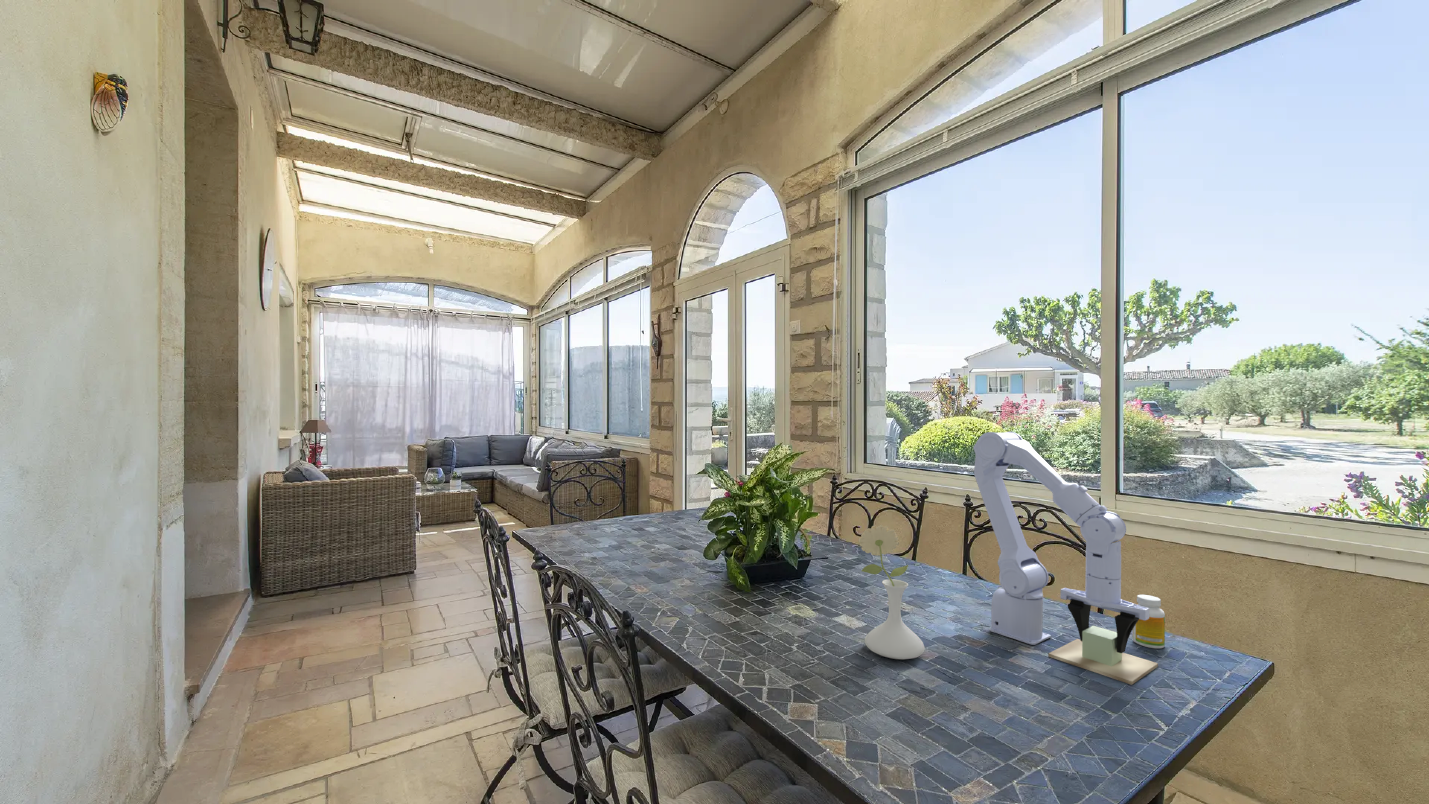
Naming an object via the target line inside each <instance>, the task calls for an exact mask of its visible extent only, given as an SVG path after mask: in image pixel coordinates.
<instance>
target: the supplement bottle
mask: <svg viewBox="0 0 1429 804" xmlns="http://www.w3.org/2000/svg"><path fill="white" fill-rule="evenodd" d="M1161 601H1162V600H1161V598H1159V597H1158V596H1153V595H1148V594H1137V596H1136V603H1138V604H1137V605H1139V606H1143V607H1146V608H1149V619H1147V620H1141V619H1139V620H1138V622H1137V623H1136V625H1135V626H1134V628H1133V630H1132V641H1133V642H1134V643H1135V644H1137V645H1139V646H1142V647H1144V648H1149V649H1163V648H1165V645H1166V643H1165V642H1166V639H1165V638H1166V637H1165V636H1166V632H1165V631H1166V614H1165V611H1164V610H1163V609H1162V608H1161V606H1162V604H1161V603H1162V602H1161Z"/></svg>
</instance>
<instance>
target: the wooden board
mask: <svg viewBox="0 0 1429 804" xmlns="http://www.w3.org/2000/svg"><path fill="white" fill-rule="evenodd" d="M1049 657H1050V659H1051V658H1052V659H1055V660H1058V661H1060V662H1062V663H1063V662H1064V663H1067V664H1069V665H1072V666H1076V667H1078V668H1081V669H1085V670H1087V671H1090V672H1094V673H1096V674H1099V675H1102V676H1105V677H1108V678H1111V679H1113V680H1117V681H1118V682H1122V683H1126V684H1129V685H1131V686H1133V685H1134V684H1135V683H1137V682H1139V680H1141V679H1143V678H1144V677H1145V676H1147V675H1148V674H1149V673H1151V672H1152V671H1154V670H1155V669H1156V668H1158V667H1159V663H1158V662H1155V661H1152V660H1149V659H1145V658H1142V657H1138V656H1136V655H1131V654H1128V653H1125V652H1123V653H1122V660H1121V661H1119V662H1118V663H1116V664H1115V665H1113V666H1109V665H1106V664H1103V663H1100V662H1097V661H1094V660H1090V659H1087V658H1084V657H1082V641H1081V640H1080V638H1076V639H1074V640H1072V641H1070V642H1069V643H1066V644H1064V645H1062V646H1061V647H1058V648H1056V649H1054V650H1052V651H1050V652H1049V653H1048V658H1049Z"/></svg>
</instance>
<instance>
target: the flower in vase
mask: <svg viewBox="0 0 1429 804" xmlns="http://www.w3.org/2000/svg"><path fill="white" fill-rule="evenodd" d="M860 535H861V536H860V537H859V538H858V543H859V546H860V547H861V548H860V549H861V550H862V552H865V554H871V555H872V556H878V557H880V565H881V566H880V565H878V564H875V563H871V564H868V565H866V566H865V567H863V568H862V569H861V572H863V573H868V574H871V575H878V574H879V573H881V572H882V571H884V573H885V575H886V576H887V578H888V579H883V580H882V581H881V583H882V585H883V586H884V588H885V591H886V593H887V597H888V598H887V600H888V614H887V615H888V616H887V618H886V620H885V621H884V622H882V623H881V624H879V625H878V626H876V627H875V628H873V629H871V630H870V631H869V632H868V633H866V636H865V638H864V644H865V645H866V647H867V648H868V649H869V650H870V651H871V652H873V653H875V654H877V655H879V656H881V657H885V658H889V659H894V660H909V659H916V658H918V657H920V656H922V654H924V652H925V650H926V648H925V645H924V641H922V639H921V638H920V637H919V636H918V635H917V634H916V633H915V632H914V631H913V630H912V629H911V628H909V627H908V626H907V625H906V624H905V623H904V621H903V619H902V615H901V614H902V613H901V607H902V600H903V599H902V597H903V595H904V592H905V591H906V589H907V588H908V586H909V583H908V582H906V581H904V580H900V579H895V578H894V577H900V576H902V575H904V573H905V572H907V569H908V567H909V564H907V565H903V566H899V567H896V568H893V569H892V571H891V572H890V574H889V573H888V572H887V570H886V568H885V566H884V563H883V555H884V556H885V555H887V554H888V553H889V554H890V553H893V552H894V550H895V549H896V548H897V546H898V545H899V544H900V542H899V537H898V534H897V533H896V530H895V529H890V528H889V526H888V525H885V526H883V524H882V525H881V524H880V525H878V526H877V525H872V526H871V528H869V527H868V528H865V530H864V531H863V532H862V533H861V534H860ZM891 577H893V578H894V579H892V578H891Z"/></svg>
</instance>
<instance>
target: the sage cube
mask: <svg viewBox="0 0 1429 804" xmlns="http://www.w3.org/2000/svg"><path fill="white" fill-rule="evenodd" d="M1116 646H1117V631H1113V630H1110V629H1107V628H1104V627H1099V626H1096V625H1091V626H1089V628H1088V629H1086V630H1084V631H1082V657H1084V658H1087V659H1090V660H1094V661H1097V662H1100V663H1103V664H1106V665H1109V666H1113V665H1115V664H1116V663H1118V662H1119V661H1121V660H1122V653H1118V652H1117V647H1116Z"/></svg>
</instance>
